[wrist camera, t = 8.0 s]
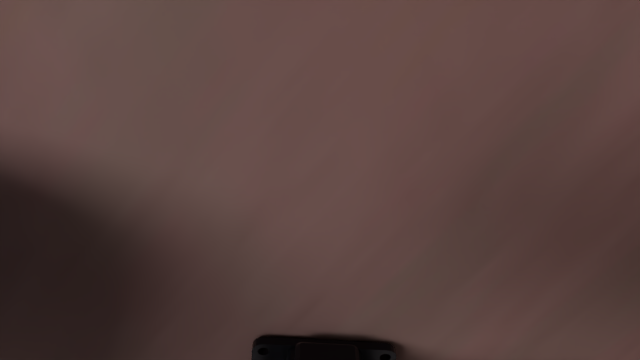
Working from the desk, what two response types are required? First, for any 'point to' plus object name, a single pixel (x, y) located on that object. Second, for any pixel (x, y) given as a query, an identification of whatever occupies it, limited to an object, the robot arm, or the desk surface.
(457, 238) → the desk surface
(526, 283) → the desk surface
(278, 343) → the robot arm
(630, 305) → the desk surface
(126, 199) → the desk surface
